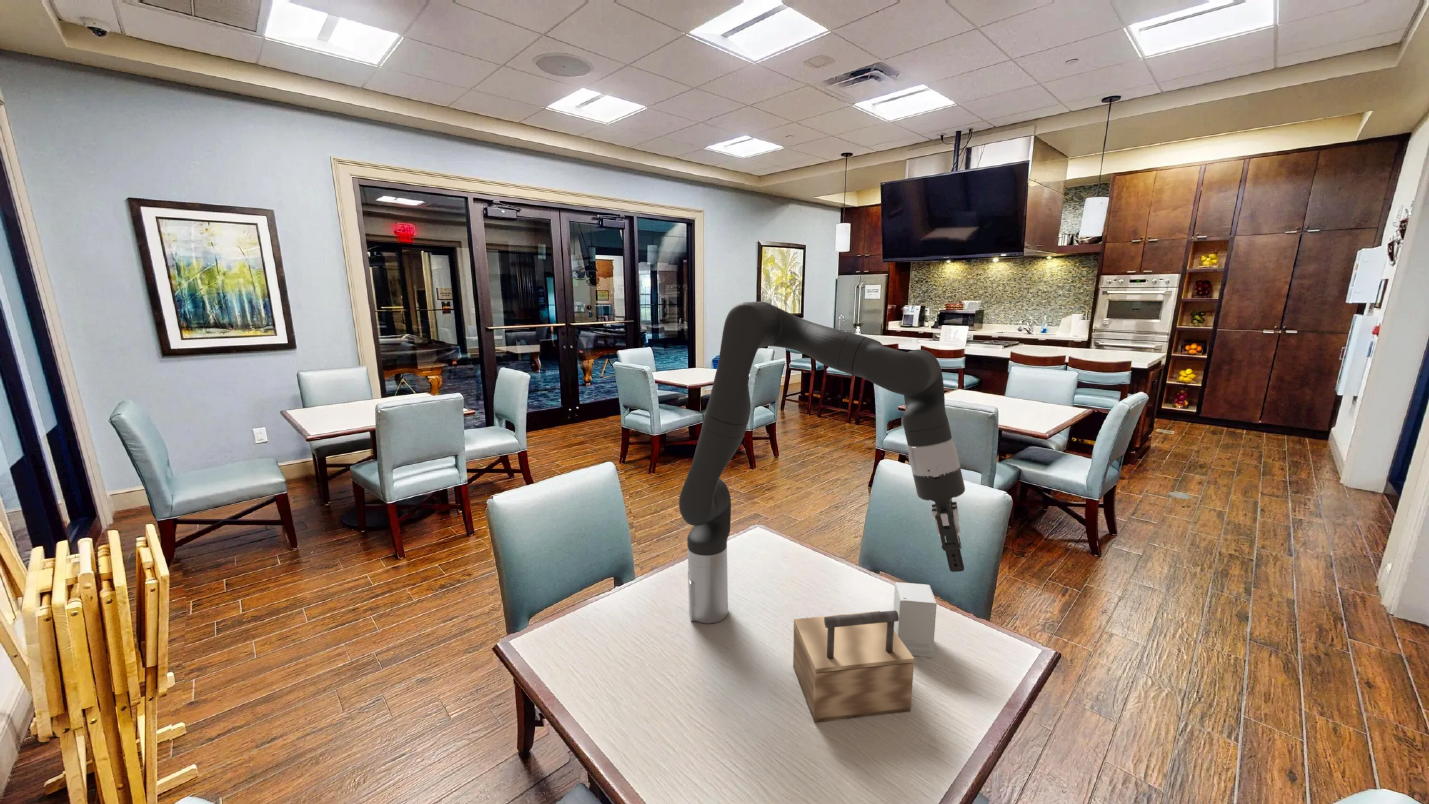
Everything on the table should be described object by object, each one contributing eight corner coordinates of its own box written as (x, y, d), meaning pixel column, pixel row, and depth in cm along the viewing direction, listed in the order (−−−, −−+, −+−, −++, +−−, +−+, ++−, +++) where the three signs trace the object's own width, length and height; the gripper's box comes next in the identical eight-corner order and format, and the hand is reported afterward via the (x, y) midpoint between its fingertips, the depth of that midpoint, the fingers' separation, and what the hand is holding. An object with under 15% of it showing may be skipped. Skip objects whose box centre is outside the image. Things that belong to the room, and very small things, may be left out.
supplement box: (933, 658, 107) (937, 603, 104) (896, 654, 108) (899, 600, 106) (926, 635, 114) (930, 583, 111) (891, 631, 115) (894, 580, 113)
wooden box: (814, 722, 92) (815, 673, 89) (793, 667, 105) (793, 623, 103) (910, 711, 94) (913, 663, 91) (877, 658, 107) (879, 615, 105)
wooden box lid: (815, 672, 89) (816, 628, 88) (793, 622, 103) (794, 583, 101) (913, 662, 91) (916, 618, 90) (879, 614, 105) (881, 575, 103)
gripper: (913, 460, 95) (932, 545, 95) (910, 482, 82) (932, 580, 82) (957, 454, 92) (977, 541, 92) (961, 475, 79) (984, 577, 79)
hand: (956, 559), depth 87 cm, fingers open, 8 cm apart
